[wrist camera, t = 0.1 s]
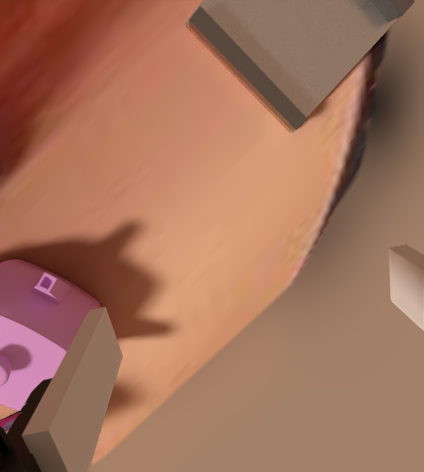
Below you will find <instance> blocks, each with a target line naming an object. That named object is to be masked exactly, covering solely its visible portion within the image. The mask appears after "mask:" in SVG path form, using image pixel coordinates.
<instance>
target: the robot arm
mask: <svg viewBox="0 0 424 472" xmlns="http://www.w3.org/2000/svg"><path fill="white" fill-rule="evenodd" d="M389 260H390V287H391V301H392V302H393V303H394V304H395V305H396V306H397V307H398V308H400V309H401V310H402V311H403V312H404V313H405V314H406V315H407V316H408V317H409V318H410V319H411V320H412V321H414V322H415V323H416V324H417V325H418V326H419V327H420V328H421V329H422V330H423V331H424V255H423V254H421V253H419V252H418V251H416V250H414V249H413V248H411V247H409V246H408V245H401V246H396V247H391V248H389ZM122 357H123V355H122V352H121V349H120V347H119V344H118V341H117V338H116V335H115V332H114V329H113V326H112V324H111V321H110V318H109V315H108V312H107V309H106V307H102V308H98V309H93V310H89V312H88V314H87V315H86V317H85V319H84V321H83V323H82V325H81V327H80V328H79V330H78V332H77V334H76V336H75V338H74V340H73V341H72V343H71V345H70V347H69V349H68V351H67V352H66V354H65V356H64V358H63V360H62V362H61V364H60V365H59V367H58V369H57V371H56V373H55V375H54V377H53V378H50V379H46V380H43V381H42V382H41V383H40V384H39V385H38V386H37V387H36V388H35V389H34V390H33V391H32V392H31V393H30V395H29V397H28V399H27V400H26V402H25V405H23V407H22V409H21V410H20V412H19V415H18V416H17V417H16V419H15V421H14V422H13V424H12V426H11V427H10V429H9V431H8V432H7V434H6V432H5V430H4V429H3V428H2V427H1V426H0V472H89V468H90V465H91V461H92V458H93V455H94V451H95V448H96V445H97V441H98V438H99V434H100V431H101V428H102V424H103V421H104V418H105V414H106V411H107V407H108V404H109V401H110V397H111V394H112V390H113V387H114V384H115V380H116V377H117V374H118V370H119V367H120V363H121V360H122Z"/></svg>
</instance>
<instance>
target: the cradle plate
mask: <svg viewBox="0 0 424 472" xmlns="http://www.w3.org/2000/svg"><path fill="white" fill-rule="evenodd" d="M413 3H414V0H203V1H202V3H201V4H200V5H199V6H198V8H197V9H196V10H195V12H194V13H193V14H192V15H191V17H190V18H189V19H188V21H187V22H186V27H187V28H188V29H189V30H190V31H191V32H192V34H193V35H194V36H195V37H196V38H197V39H198V40H199V41H200V42H201V43H202V44H203V45H204V46H205V47H206V48H207V49H208V50H209V51H210V52H211V53H212V54H213V55H214V56H215V57H216V58H217V59H218V60H219V61H220V62H221V63H222V64H223V65H224V66H225V67H226V68H227V69H228V70H229V71H230V72H231V73H232V74H233V75H234V76H235V77H236V78H237V79H238V80H239V81H240V82H241V83H242V84H243V85H244V86H245V87H246V88H247V90H248V91H249V92H250V93H251V94H252V95H253V96H254V97H255V98H256V99H257V100H258V101H259V102H260V103H261V104H262V105H263V106H264V107H265V108H266V109H267V110H268V111H269V112H270V113H271V114H272V115H273V116H274V117H275V118H276V119H277V120H278V121H279V122H280V123H281V124H282V125H283V126H284V127H285V128H286V129H287V130H288V131H289V132H292V133H293V132H294V131H295V130H297V129H298V128H299V127H300V125H301V124H302V123H303V122H304V121H305V120H306V119H307V117H308V116H309V115H310V114H311V113H312V112H313V110H314V109H315V108H316V107H317V106H318V105H319V104H320V103H321V102H322V101H323V100H324V99H325V97H326V96H327V95H328V94H329V93H330V92H331V91H332V90H333V89H334V88H335V87H336V86H337V84H338V83H339V82H340V81H341V80H342V79H343V78H344V77H345V76H346V75H347V74H348V73H349V71H350V70H351V69H352V68H353V67H354V66H355V65H356V64H357V63H358V62H359V61H360V60H361V58H362V57H363V56H364V55H365V54H366V53H367V52H368V51H369V50H370V49H371V48H372V47H373V45H374V44H375V43H376V42H377V41H378V40H379V39H380V38H381V37H382V36H383V35H384V34H385V32H386V31H387V30H388V29H389V28H390V27H391V26H392V25H393V24H394V23H395V21H396V20H397V19H398V18H399V17H400V16H402V15H403V14H404V13H405V12H406V11H407V10H408V9H409V7H410V6H411V5H412V4H413Z"/></svg>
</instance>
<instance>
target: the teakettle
mask: <svg viewBox="0 0 424 472" xmlns="http://www.w3.org/2000/svg"><path fill="white" fill-rule="evenodd" d="M98 308H102V307H101V304H100V303H99V302H98V301H97V300H96V299H95V298H93V297H92V296H91V295H89V294H88V293H86V292H85V291H83V290H82V289H80V288H79V287H77V286H76V285H74V284H73V283H71V282H69V281H68V280H66V279H64V278H62V277H60V276H59V275H57V274H55V273H52V272H50V271H48V270H46V269H43V268H41V267H39V266H36V265H34V264H32V263H29V262H26V261H23V260H20V259H11V260H7V261H4V262H2V263H0V404H1V405H4V406H7V407H10V408H13V409H16V410H19V411H20V410H21V409H22V407H23V405H25V402H26V400H27V399H28V397H29V395H30V393H31V392H32V391H33V390H34V389H35V388H36V387H37V386H38V385H39V384H40V383H41V382H42V381H43V380H46V379H50V378H53V377H54V375H55V373H56V371H57V369H58V367H59V365H60V364H61V362H62V360H63V358H64V356H65V354H66V352H67V351H68V349H69V347H70V345H71V343H72V341H73V340H74V338H75V336H76V334H77V332H78V330H79V328H80V327H81V325H82V323H83V321H84V319H85V317H86V315H87V314H88V312H89V310H93V309H98Z"/></svg>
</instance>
